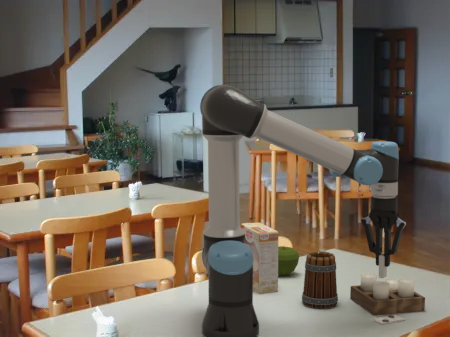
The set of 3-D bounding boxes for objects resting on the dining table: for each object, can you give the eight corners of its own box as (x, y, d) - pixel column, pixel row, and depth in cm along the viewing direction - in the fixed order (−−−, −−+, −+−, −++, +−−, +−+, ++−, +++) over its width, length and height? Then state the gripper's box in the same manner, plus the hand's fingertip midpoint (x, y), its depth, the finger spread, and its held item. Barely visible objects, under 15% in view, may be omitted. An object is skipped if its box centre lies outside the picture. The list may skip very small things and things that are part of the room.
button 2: (377, 303, 210) (377, 286, 210) (370, 298, 215) (370, 281, 214) (391, 301, 211) (392, 284, 211) (384, 297, 216) (384, 280, 215)
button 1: (364, 294, 218) (365, 278, 217) (357, 290, 222) (358, 274, 222) (378, 293, 219) (379, 277, 218) (371, 289, 224) (372, 273, 223)
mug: (336, 310, 213) (338, 260, 211) (300, 308, 215) (301, 258, 213) (339, 294, 228) (340, 247, 226) (305, 292, 230) (306, 245, 228)
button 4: (402, 300, 212) (403, 283, 212) (394, 296, 217) (395, 279, 216) (416, 299, 214) (417, 282, 213) (408, 294, 218) (409, 278, 217)
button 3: (388, 300, 220) (389, 284, 220) (381, 295, 225) (382, 279, 224) (402, 299, 222) (403, 283, 221) (395, 294, 226) (396, 278, 225)
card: (380, 324, 201) (381, 322, 201) (372, 320, 205) (372, 318, 205) (404, 320, 205) (404, 318, 204) (395, 316, 208) (395, 314, 208)
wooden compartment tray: (373, 315, 209) (374, 301, 208) (350, 298, 224) (350, 286, 224) (424, 311, 213) (425, 297, 212) (398, 294, 228) (398, 282, 228)
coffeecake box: (239, 281, 242) (240, 223, 240) (259, 279, 245) (260, 221, 242) (257, 294, 228) (258, 232, 226) (278, 292, 231) (279, 231, 228)
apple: (263, 271, 254) (263, 243, 253) (291, 269, 257) (291, 241, 256) (274, 280, 244) (275, 250, 242) (304, 277, 247) (304, 248, 245)
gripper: (357, 196, 209) (356, 277, 212) (402, 200, 203) (401, 283, 206) (366, 192, 216) (365, 270, 219) (410, 195, 209) (408, 276, 212)
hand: (382, 276), depth 212 cm, fingers closed
